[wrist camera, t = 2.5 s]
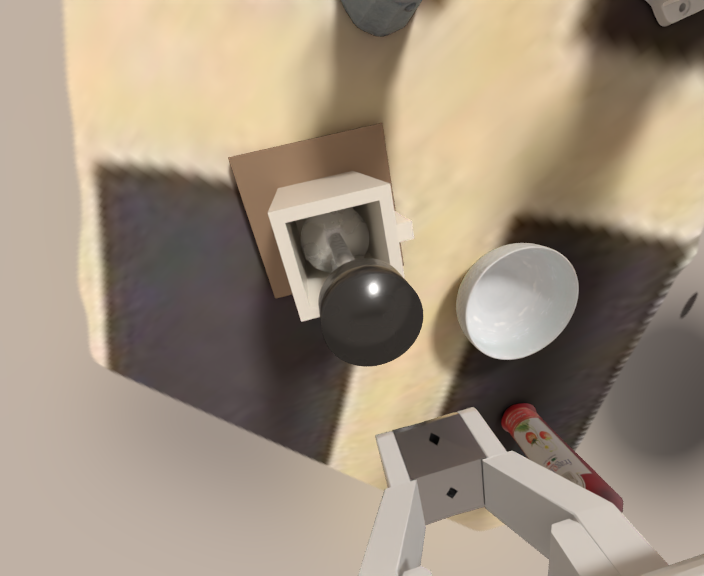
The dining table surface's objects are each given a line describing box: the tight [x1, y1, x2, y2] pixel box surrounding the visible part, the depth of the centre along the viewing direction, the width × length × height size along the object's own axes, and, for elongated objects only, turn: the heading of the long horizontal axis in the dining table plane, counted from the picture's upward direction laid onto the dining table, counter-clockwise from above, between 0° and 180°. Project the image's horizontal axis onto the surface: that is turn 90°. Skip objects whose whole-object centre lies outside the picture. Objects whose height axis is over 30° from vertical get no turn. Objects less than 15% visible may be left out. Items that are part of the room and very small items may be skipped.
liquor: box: [501, 403, 623, 513], centre depth 50 cm, size 7×7×28 cm
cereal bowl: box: [456, 243, 579, 360], centre depth 48 cm, size 17×17×7 cm
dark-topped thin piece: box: [301, 208, 423, 366], centre depth 24 cm, size 6×6×17 cm
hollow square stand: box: [228, 123, 414, 322], centre depth 35 cm, size 18×18×18 cm
